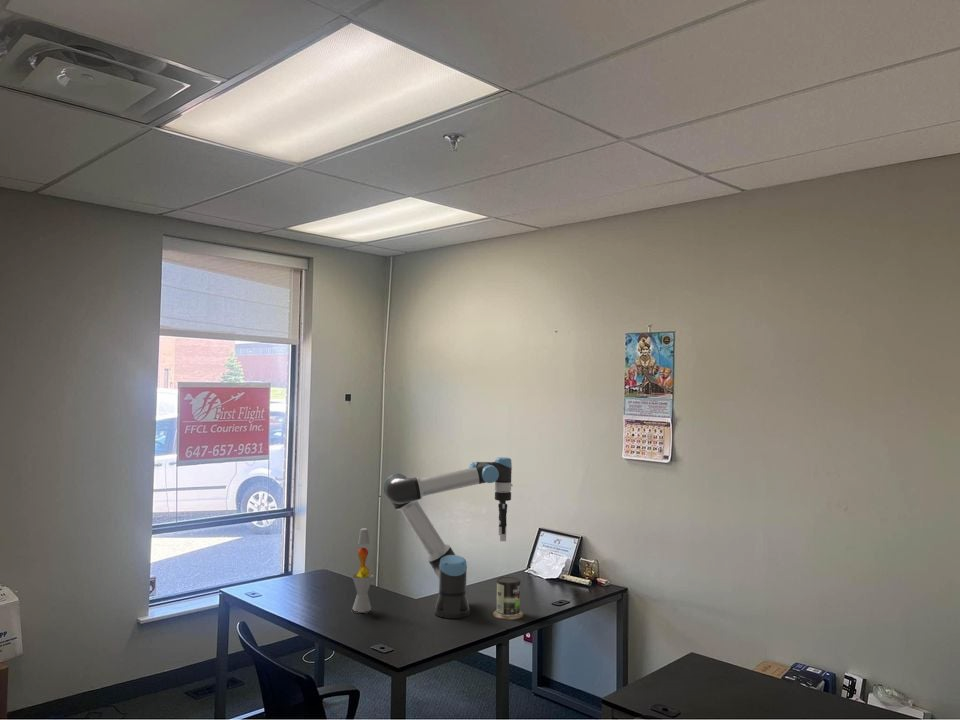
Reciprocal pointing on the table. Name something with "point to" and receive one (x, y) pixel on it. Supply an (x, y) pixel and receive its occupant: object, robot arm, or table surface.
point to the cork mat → (508, 617)
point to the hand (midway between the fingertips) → (502, 538)
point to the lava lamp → (362, 576)
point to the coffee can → (508, 596)
